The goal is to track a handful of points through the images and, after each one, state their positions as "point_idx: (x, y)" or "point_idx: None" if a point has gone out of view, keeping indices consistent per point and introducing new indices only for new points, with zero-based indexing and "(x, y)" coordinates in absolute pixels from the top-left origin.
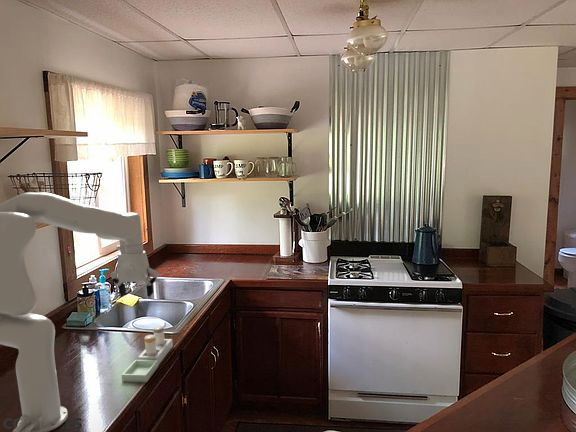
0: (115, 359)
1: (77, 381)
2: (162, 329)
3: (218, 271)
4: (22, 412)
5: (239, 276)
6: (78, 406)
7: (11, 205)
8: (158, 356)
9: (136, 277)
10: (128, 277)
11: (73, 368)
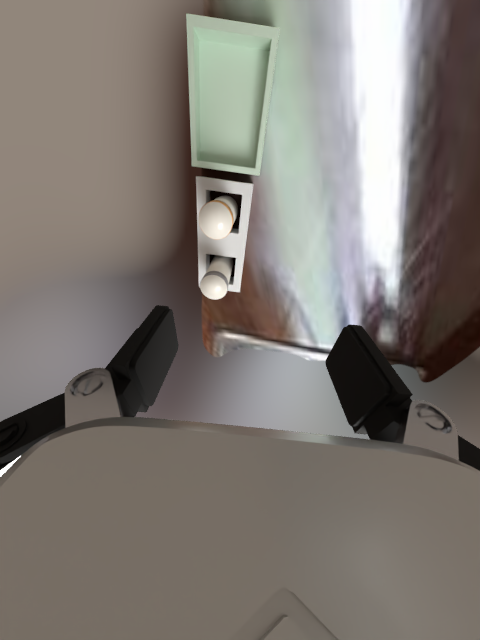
0: (318, 229)
1: (429, 70)
2: (201, 280)
3: None
4: None
5: None
6: None
7: None
8: (196, 188)
9: (156, 527)
10: (352, 552)
11: (429, 183)
